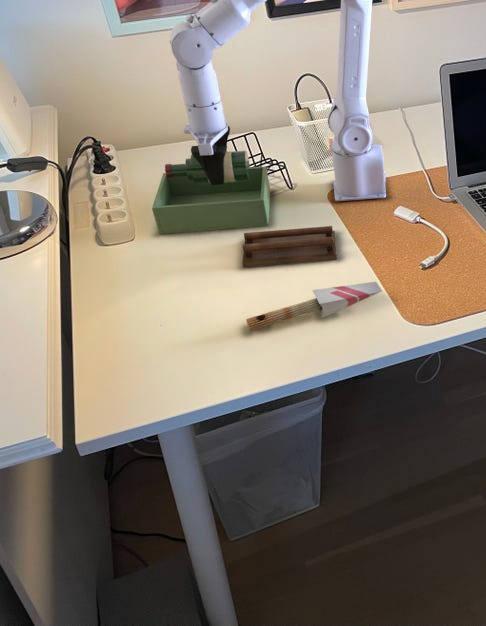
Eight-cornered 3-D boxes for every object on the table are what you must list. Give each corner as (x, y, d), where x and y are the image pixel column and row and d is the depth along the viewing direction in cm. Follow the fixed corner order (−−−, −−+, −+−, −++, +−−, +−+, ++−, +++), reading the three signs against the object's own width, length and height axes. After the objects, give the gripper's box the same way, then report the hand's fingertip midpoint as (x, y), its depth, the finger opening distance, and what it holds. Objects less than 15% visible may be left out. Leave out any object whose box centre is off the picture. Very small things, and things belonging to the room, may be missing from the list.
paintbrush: (382, 285, 108) (248, 324, 101) (384, 299, 110) (252, 339, 103) (373, 271, 111) (242, 309, 104) (375, 286, 113) (246, 324, 106)
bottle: (251, 172, 130) (246, 145, 127) (249, 186, 126) (244, 158, 123) (172, 178, 128) (165, 150, 125) (168, 191, 124) (160, 163, 121)
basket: (270, 190, 138) (266, 166, 134) (268, 225, 127) (263, 199, 124) (169, 198, 134) (163, 173, 131) (159, 234, 124) (151, 208, 121)
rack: (335, 234, 125) (333, 219, 124) (337, 259, 119) (335, 244, 117) (245, 242, 123) (242, 226, 121) (243, 267, 117) (239, 252, 115)
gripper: (182, 86, 124) (199, 159, 132) (171, 119, 112) (190, 197, 121) (225, 84, 125) (239, 157, 133) (218, 116, 114) (234, 194, 122)
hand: (219, 176), depth 127 cm, fingers closed on bottle, 5 cm apart
